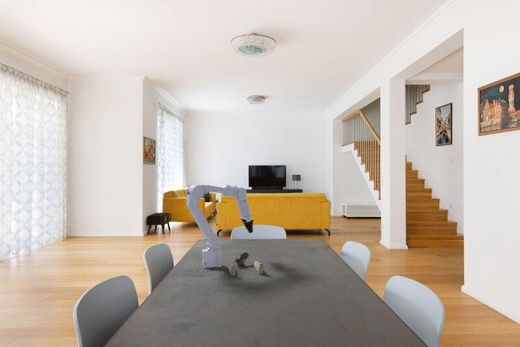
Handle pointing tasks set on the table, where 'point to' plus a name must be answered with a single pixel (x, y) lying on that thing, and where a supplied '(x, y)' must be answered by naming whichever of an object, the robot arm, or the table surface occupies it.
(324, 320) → the table surface
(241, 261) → the eagle figurine
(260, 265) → the wooden matchsticks
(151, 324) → the table surface
